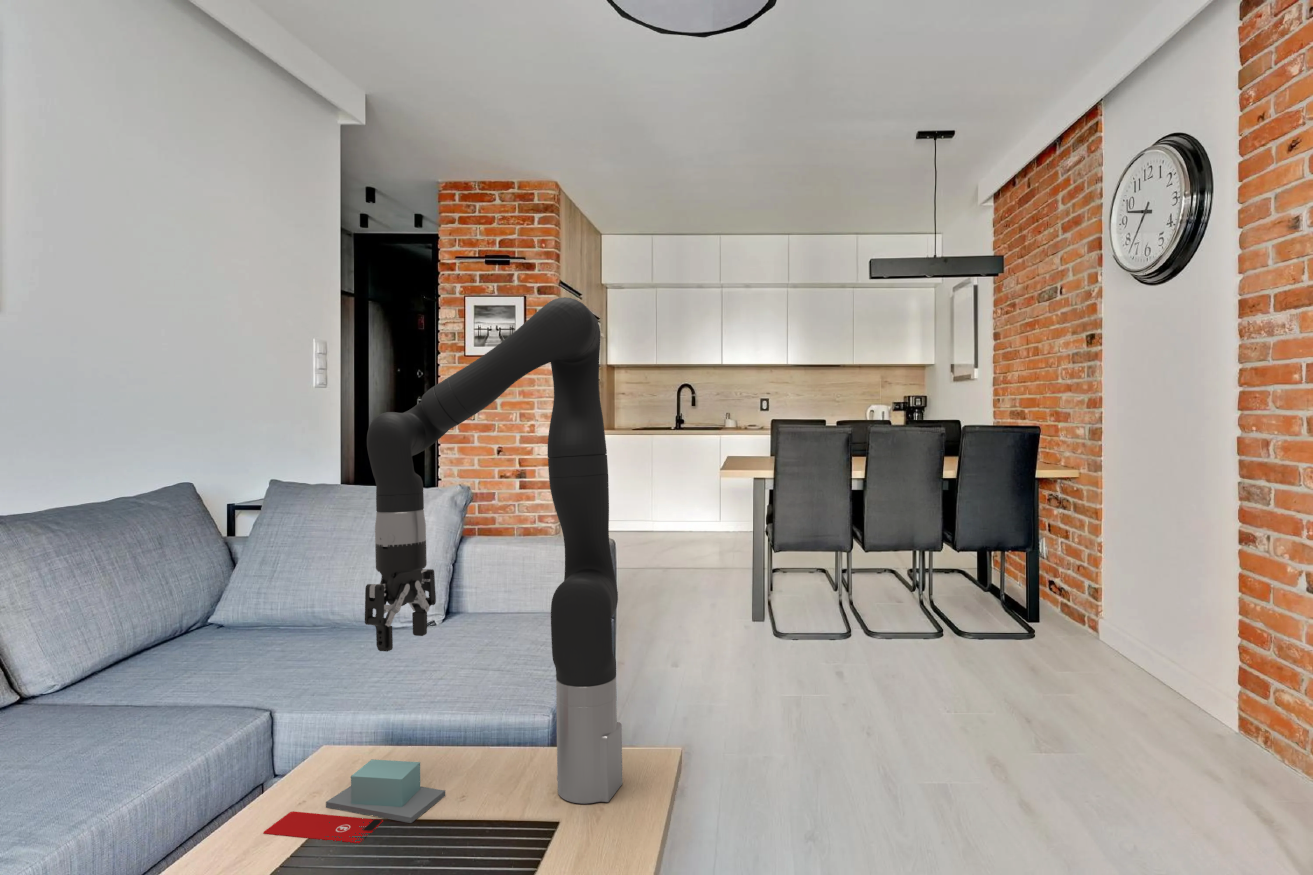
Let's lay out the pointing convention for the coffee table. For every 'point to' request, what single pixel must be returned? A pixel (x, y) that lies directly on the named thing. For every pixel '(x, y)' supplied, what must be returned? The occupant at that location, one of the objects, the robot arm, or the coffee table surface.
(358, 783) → the teal rectangular block
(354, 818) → the electronic device
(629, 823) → the coffee table surface
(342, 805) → the mat
